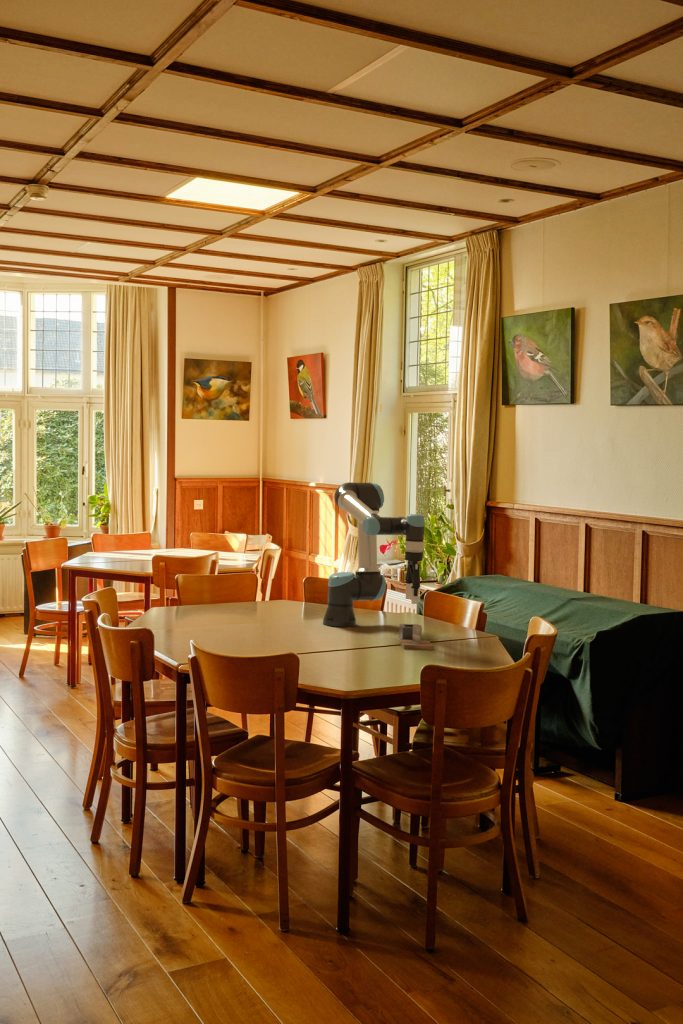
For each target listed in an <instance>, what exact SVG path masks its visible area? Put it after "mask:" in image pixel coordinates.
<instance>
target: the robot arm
mask: <svg viewBox="0 0 683 1024" xmlns="http://www.w3.org/2000/svg"><path fill="white" fill-rule="evenodd" d="M333 498H334V502H335V505H336V507H338V508H339V509H340V510H342V511H346V512H347V513H349V514H350V515H351V516H352V517H353V518H354V519H355V520H356V521H357V546H358V548H357V549H358V551H357V552H358V553H357V554H358V568H357V569H356V570H355V571H354V572H355V573H354V572H351V571H340V572H334V573H332V574H330V575H329V577H328V582H327V583H328V584H327V586H328V587H327V589H328V590H327V606H326V607H327V608H326V610H325V613H324V615H323V618H322V624H323V625H324V626H329V627H339V628H340V627H341V628H345V627H346V628H349V627H355V626H357V618H356V617H357V616H356V614H355V610H354V602H355V601H356V602H363V601H365V602H366V601H370V602H373V601H379V600H381V598H382V597H383V596H384V594H385V592H386V590H387V589H386V588H387V582H386V581H387V580H386V577H385V576H384V575H382V574H381V570H380V569H379V568H378V546H377V545H378V544H377V543H378V542H377V539H378V537H377V536H379V535H380V536H405V542H404V543H403V544H404V546H405V547H404V548H405V552H404V560H405V561H407V567H406V573H405V574H406V575H405V579H404V580H405V581H404V582H405V583H406V585H405V586H406V587H405V600H411V602H410V603H411V605H419V594H420V593H419V592H420V588H421V578H420V577H421V576H420V564H418V562H422V561H423V560H424V552H423V551H424V545H425V542H424V539H425V538H424V537H425V525H426V524H425V516H424V515H423V514H416V513H410V514H407V515H406V517H404V516H396V517H394V516H393V517H391V516H389V517H387V516H385V517H384V516H380V515H379V513H380V509H381V508H382V507H383V506H384V504H385V494H384V491H383V489H382V487H381V485H380V484H379V483H374V482H372V483H371V482H345V483H342V484H341V485H339V486H338V487H337V488H336V490H335V492H334V497H333Z"/></svg>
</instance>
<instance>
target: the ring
mask: <svg viewBox="0 0 683 1024" xmlns="http://www.w3.org/2000/svg"><path fill="white" fill-rule="evenodd" d="M413 625H419V624H417V623H416V624H415V623H414V624H411V623H399V632H398V638H399V640H412V637H413ZM422 629H423V627H421V635H422V633H423V631H422Z"/></svg>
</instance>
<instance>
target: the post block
mask: <svg viewBox="0 0 683 1024" xmlns="http://www.w3.org/2000/svg"><path fill="white" fill-rule="evenodd" d="M421 628H422V625H419V624H418V625H413V637H412V640H400V639H399V640H398V643H399V645H400V646H401V647H402V648H403V649H404V650H419V651H421V650H422V651H423V650H426V651H429V650H430V651H434V650H435V646H434V645H433V643H432V642H430V641H429V640H427V639H422V634H421Z"/></svg>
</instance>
